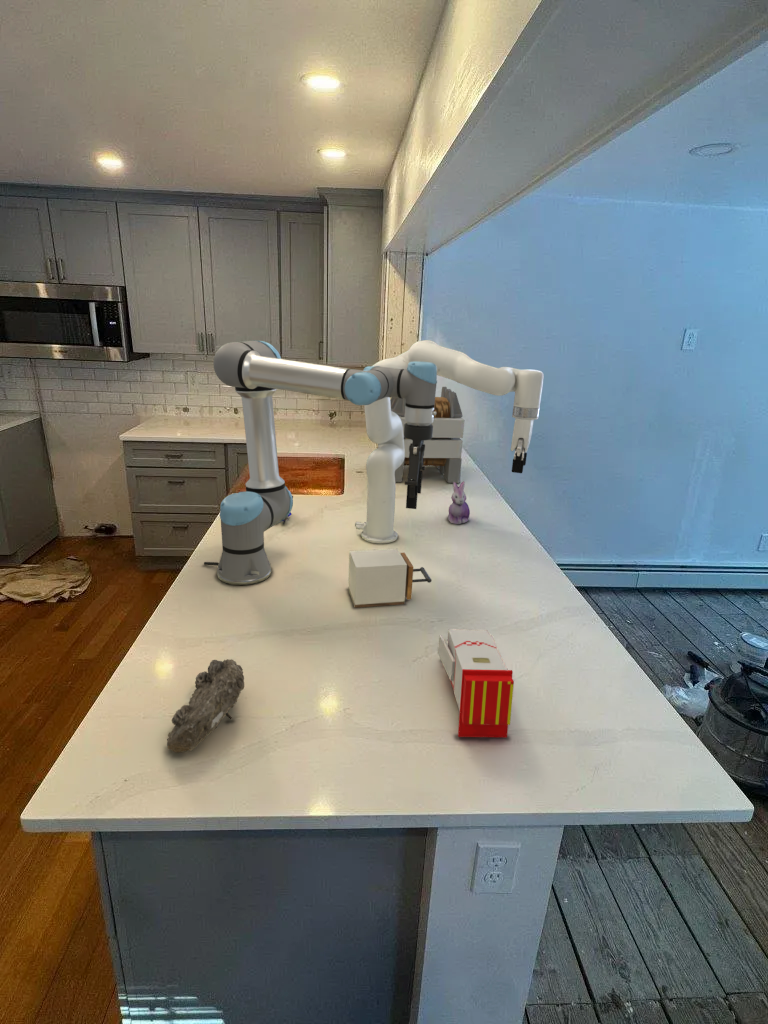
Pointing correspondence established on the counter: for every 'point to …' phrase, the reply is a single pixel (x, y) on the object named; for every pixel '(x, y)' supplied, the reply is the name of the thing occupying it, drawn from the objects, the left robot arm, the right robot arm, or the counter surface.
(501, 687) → the toy
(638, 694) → the counter surface
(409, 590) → the drawer
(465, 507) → the figurine
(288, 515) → the figurine character
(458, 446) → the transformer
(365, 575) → the off-white box shell
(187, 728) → the fossil
